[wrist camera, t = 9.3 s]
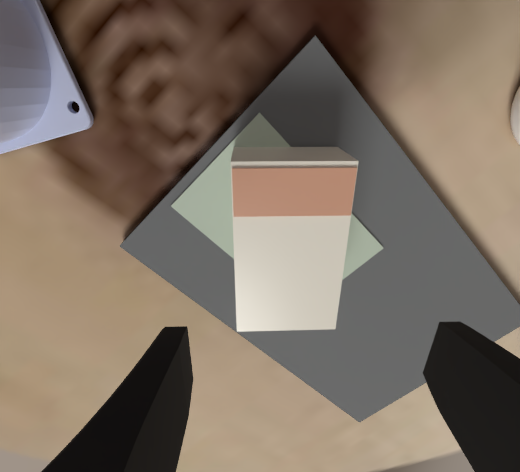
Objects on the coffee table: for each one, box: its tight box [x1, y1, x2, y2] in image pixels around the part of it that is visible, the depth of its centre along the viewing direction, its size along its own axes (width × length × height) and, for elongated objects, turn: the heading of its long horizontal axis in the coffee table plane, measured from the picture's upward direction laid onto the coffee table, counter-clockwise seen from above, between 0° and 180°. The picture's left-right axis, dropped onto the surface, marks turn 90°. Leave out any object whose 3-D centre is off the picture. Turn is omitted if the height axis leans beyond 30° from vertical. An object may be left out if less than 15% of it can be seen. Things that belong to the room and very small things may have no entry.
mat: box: [120, 36, 520, 422], centre depth 19 cm, size 22×14×1 cm, turn 44°
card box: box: [231, 147, 359, 332], centre depth 15 cm, size 8×5×3 cm, turn 0°
